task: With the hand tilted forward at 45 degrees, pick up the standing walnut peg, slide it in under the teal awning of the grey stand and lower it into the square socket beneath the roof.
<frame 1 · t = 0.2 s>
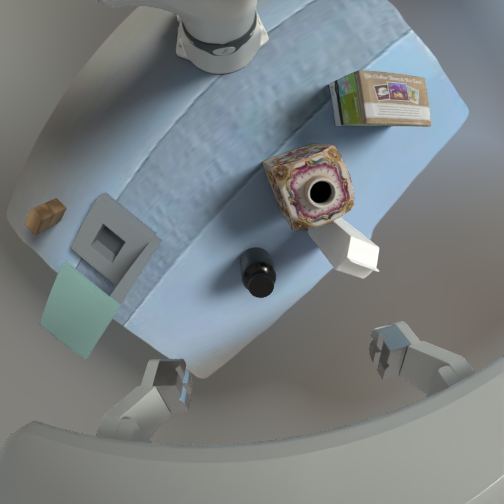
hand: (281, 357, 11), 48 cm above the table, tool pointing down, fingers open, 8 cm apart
tea box: (362, 105, 50), on the table
supplement bottle: (255, 260, 62), on the table
decorative jar: (296, 177, 56), on the table
milk: (323, 224, 60), on the table
socket stand: (114, 237, 57), on the table
walnut peg: (58, 209, 54), on the table
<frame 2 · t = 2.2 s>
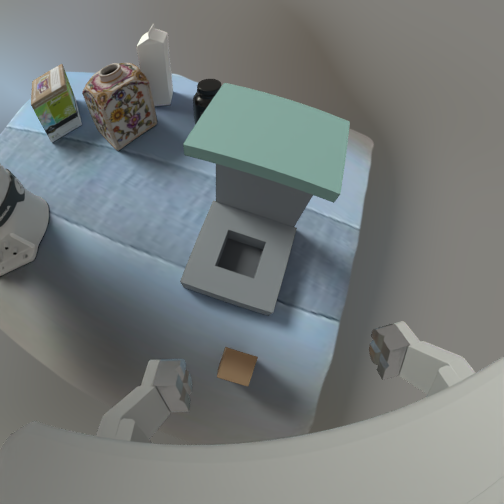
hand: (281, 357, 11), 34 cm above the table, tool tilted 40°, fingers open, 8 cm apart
tea box: (64, 120, 56), on the table
supplement bottle: (209, 125, 58), on the table
decorative jar: (126, 127, 56), on the table
milk: (160, 99, 60), on the table
socket stand: (239, 261, 48), on the table
walnut peg: (233, 362, 42), on the table
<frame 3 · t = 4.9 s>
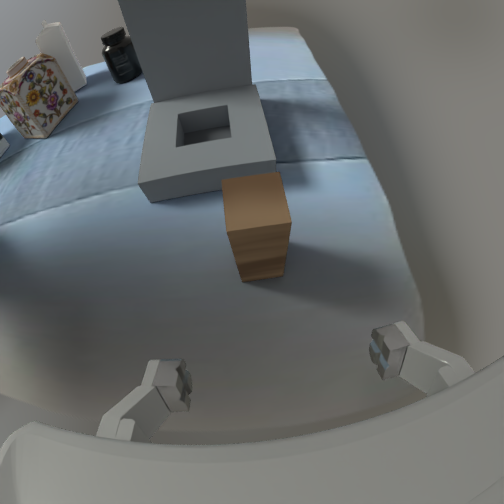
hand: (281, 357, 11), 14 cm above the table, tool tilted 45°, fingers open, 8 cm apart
supplement bottle: (129, 76, 45), on the table
decorative jar: (50, 120, 43), on the table
milk: (76, 87, 47), on the table
socket stand: (208, 146, 34), on the table
walnut peg: (259, 260, 28), on the table
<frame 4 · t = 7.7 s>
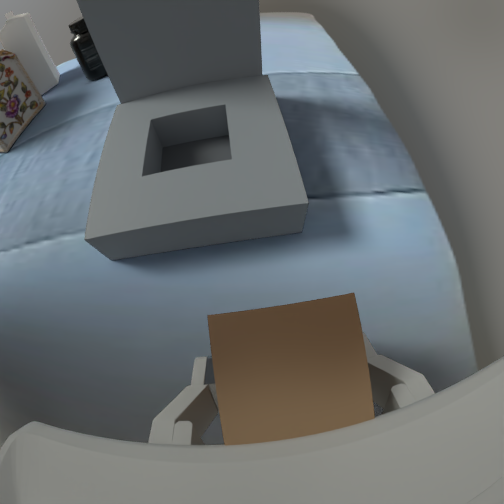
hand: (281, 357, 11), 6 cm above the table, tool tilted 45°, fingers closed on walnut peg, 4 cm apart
supplement bottle: (105, 71, 34), on the table
decorative jar: (15, 129, 32), on the table
milk: (48, 87, 36), on the table
socket stand: (196, 168, 23), on the table
walnut peg: (277, 367, 17), on the table, touching gripper
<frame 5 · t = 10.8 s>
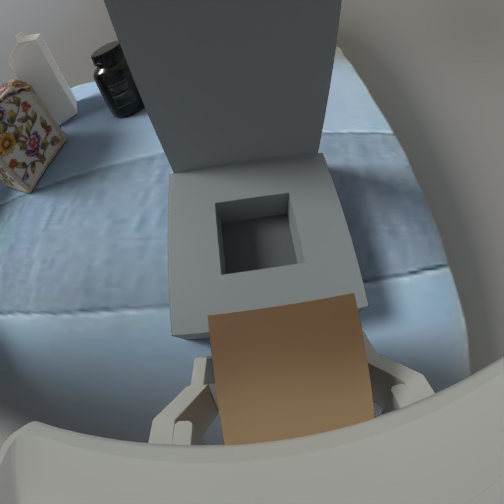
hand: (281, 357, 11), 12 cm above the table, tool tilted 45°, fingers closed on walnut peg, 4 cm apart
supplement bottle: (131, 106, 37), on the table
decorative jar: (35, 163, 35), on the table
milk: (65, 115, 39), on the table
socket stand: (259, 250, 26), on the table
walnut peg: (277, 367, 17), point 6 cm above the table, touching gripper
when the fingers open (8 cm above the table, at t = 13.9 s): walnut peg drops 2 cm, resting on socket stand.
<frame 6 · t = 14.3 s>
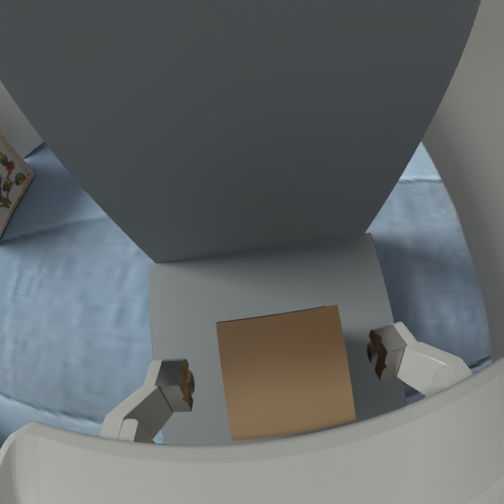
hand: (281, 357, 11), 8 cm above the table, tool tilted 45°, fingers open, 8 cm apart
decorative jar: (3, 203, 27), on the table
milk: (37, 140, 32), on the table
socket stand: (277, 367, 18), on the table
walnut peg: (275, 366, 18), resting on socket stand
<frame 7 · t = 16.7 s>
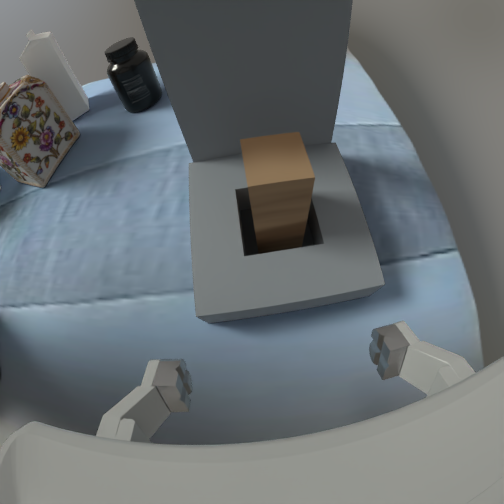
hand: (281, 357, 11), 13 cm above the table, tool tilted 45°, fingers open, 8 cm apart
supplement bottle: (144, 101, 38), on the table
decorative jar: (47, 159, 36), on the table
milk: (77, 112, 41), on the table
socket stand: (277, 234, 27), on the table
walnut peg: (276, 233, 27), resting on socket stand
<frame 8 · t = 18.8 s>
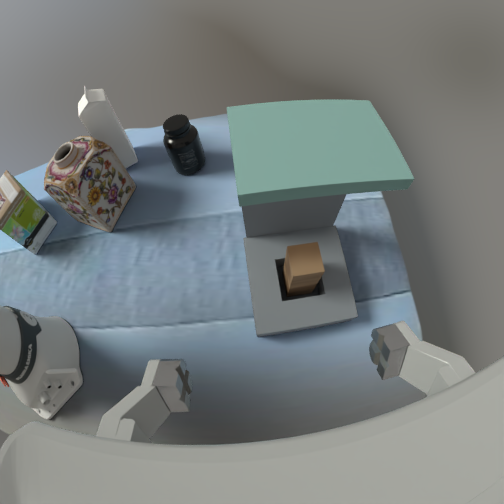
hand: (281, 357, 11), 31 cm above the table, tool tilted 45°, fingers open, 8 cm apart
tea box: (36, 225, 53), on the table
supplement bottle: (190, 164, 55), on the table
decorative jar: (106, 204, 53), on the table
milk: (125, 160, 57), on the table
socket stand: (297, 283, 44), on the table
walnut peg: (296, 283, 44), resting on socket stand
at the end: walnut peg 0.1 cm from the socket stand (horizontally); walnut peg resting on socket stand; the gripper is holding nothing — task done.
